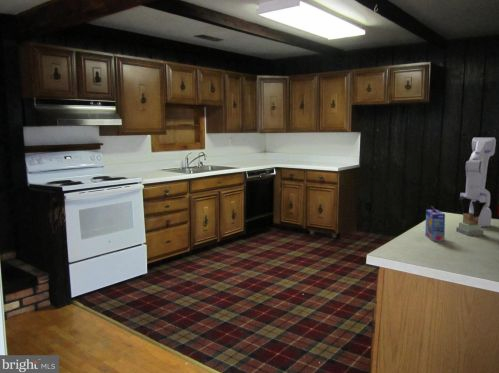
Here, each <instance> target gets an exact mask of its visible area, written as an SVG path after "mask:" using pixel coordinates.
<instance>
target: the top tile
mask: <svg viewBox="0 0 499 373" xmlns="http://www.w3.org/2000/svg"><path fill="white" fill-rule="evenodd" d="M458 227H459V228H461V229H464V230H467V231H476V230H482V227H481V225H480V224H477V225H468V224H465V223H463V221H461V222H458Z"/></svg>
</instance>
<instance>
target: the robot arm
mask: <svg viewBox="0 0 499 373" xmlns="http://www.w3.org/2000/svg"><path fill="white" fill-rule="evenodd" d="M496 142H497V139H496V138H495V136H494V137H473V138H472V140H471V149H472V153H471V155H470V157H469V159H468V160H466V162H465V177H466V182H465V192H460V194H459V196H460V197H459V198H458V200H459V203H460V204H461V208H462V214H463V213H474V217H478V224H480V225H481V228H482V227H492V210H491V208H490V205H491V193H490V191H489V190H488V189H486V182H487V173H488V165H489V160H490V157H492V156H494V154H495V153H496V145H497V144H496Z"/></svg>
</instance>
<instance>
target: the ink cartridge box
mask: <svg viewBox="0 0 499 373" xmlns="http://www.w3.org/2000/svg"><path fill="white" fill-rule="evenodd" d="M430 207H431V209H426V210H425V236H426V237H427V238H428V239H429V240H431V241H432V242H444V241H445V236H446V235H445V234H446V232H445V229H446V228H445V226H446V224H445V222H446V214H445V213H444V212H442V211H440V210H439V209H435V207H434V206H432V205H430Z"/></svg>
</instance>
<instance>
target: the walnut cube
mask: <svg viewBox="0 0 499 373" xmlns="http://www.w3.org/2000/svg"><path fill="white" fill-rule="evenodd" d="M462 214H463V215H462V222H463V223H465V224H468V225H477V224H478V217H474V213H469V212H468V213H463V212H462Z"/></svg>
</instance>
